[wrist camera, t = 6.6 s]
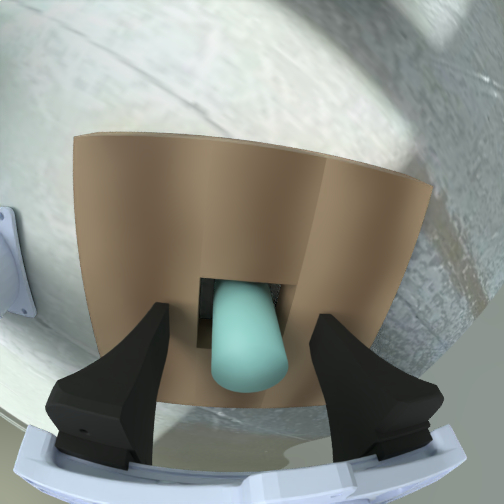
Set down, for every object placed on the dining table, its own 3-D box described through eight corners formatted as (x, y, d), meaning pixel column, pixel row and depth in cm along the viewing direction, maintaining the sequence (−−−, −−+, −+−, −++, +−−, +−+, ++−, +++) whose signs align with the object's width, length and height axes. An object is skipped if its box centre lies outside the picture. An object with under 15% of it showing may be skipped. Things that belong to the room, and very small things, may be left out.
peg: (214, 309, 16) (213, 393, 11) (213, 263, 15) (209, 344, 10) (266, 308, 17) (283, 390, 11) (270, 263, 15) (293, 342, 10)
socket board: (120, 368, 18) (112, 394, 16) (98, 132, 11) (73, 136, 9) (328, 379, 20) (337, 403, 18) (405, 174, 14) (433, 186, 11)
